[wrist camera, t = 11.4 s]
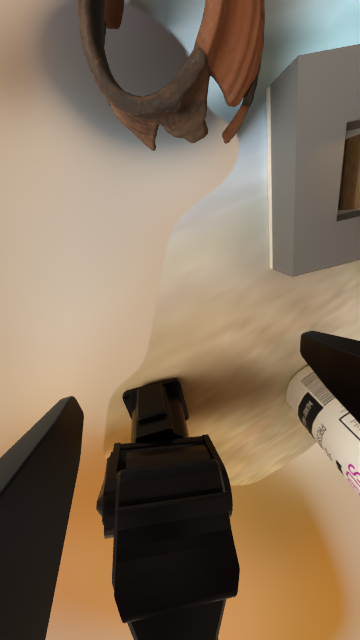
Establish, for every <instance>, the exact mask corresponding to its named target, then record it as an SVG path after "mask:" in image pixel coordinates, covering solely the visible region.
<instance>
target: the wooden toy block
mask: <svg viewBox="0 0 360 640" xmlns="http://www.w3.org/2000/svg"><path fill="white" fill-rule="evenodd" d="M351 209H360V134H358V135H355V136H353V137H350V138H348V139H345V145H344V155H343V164H342V174H341V183H340V192H339V202H338V210H351Z"/></svg>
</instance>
